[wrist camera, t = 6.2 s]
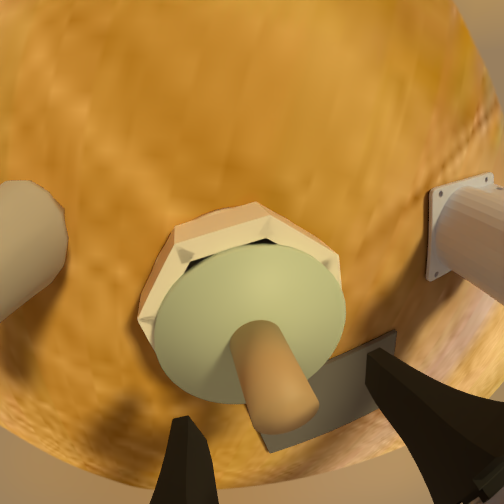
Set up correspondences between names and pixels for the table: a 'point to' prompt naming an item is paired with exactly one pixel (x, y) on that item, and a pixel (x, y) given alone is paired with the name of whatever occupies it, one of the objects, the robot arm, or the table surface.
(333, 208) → the table surface
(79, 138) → the table surface
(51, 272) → the salt shaker
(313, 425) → the mat
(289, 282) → the lid
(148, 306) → the bowl
